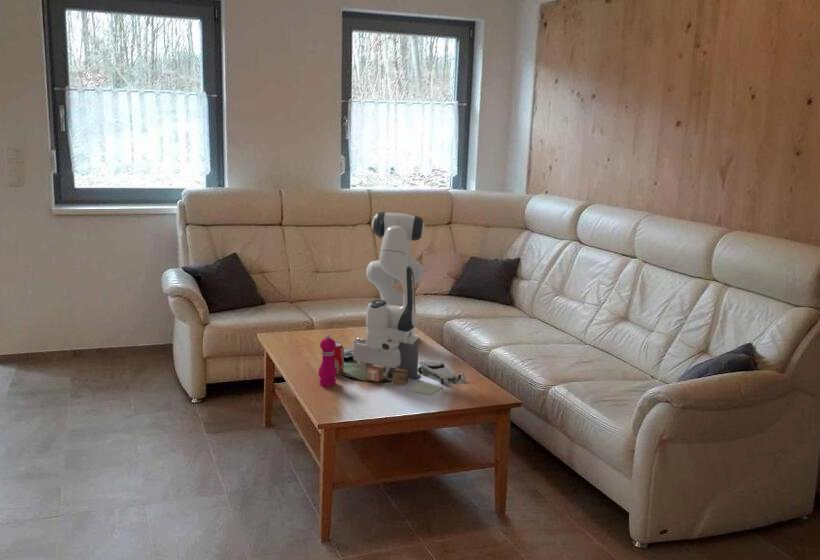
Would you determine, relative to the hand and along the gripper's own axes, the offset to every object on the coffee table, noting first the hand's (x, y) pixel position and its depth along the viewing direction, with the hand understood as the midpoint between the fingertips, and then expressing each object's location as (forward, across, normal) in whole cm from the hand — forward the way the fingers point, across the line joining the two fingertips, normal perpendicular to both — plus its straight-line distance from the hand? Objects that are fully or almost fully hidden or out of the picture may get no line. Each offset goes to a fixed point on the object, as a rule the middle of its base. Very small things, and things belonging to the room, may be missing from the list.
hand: (376, 374), depth 307 cm
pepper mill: (+2, -13, -15) cm, 20 cm away
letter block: (+2, 0, 0) cm, 2 cm away
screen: (+2, +4, +10) cm, 11 cm away
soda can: (+2, -18, -2) cm, 18 cm away
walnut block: (+2, +10, +1) cm, 11 cm away
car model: (+2, +20, +17) cm, 26 cm away
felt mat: (+2, +22, 0) cm, 22 cm away
